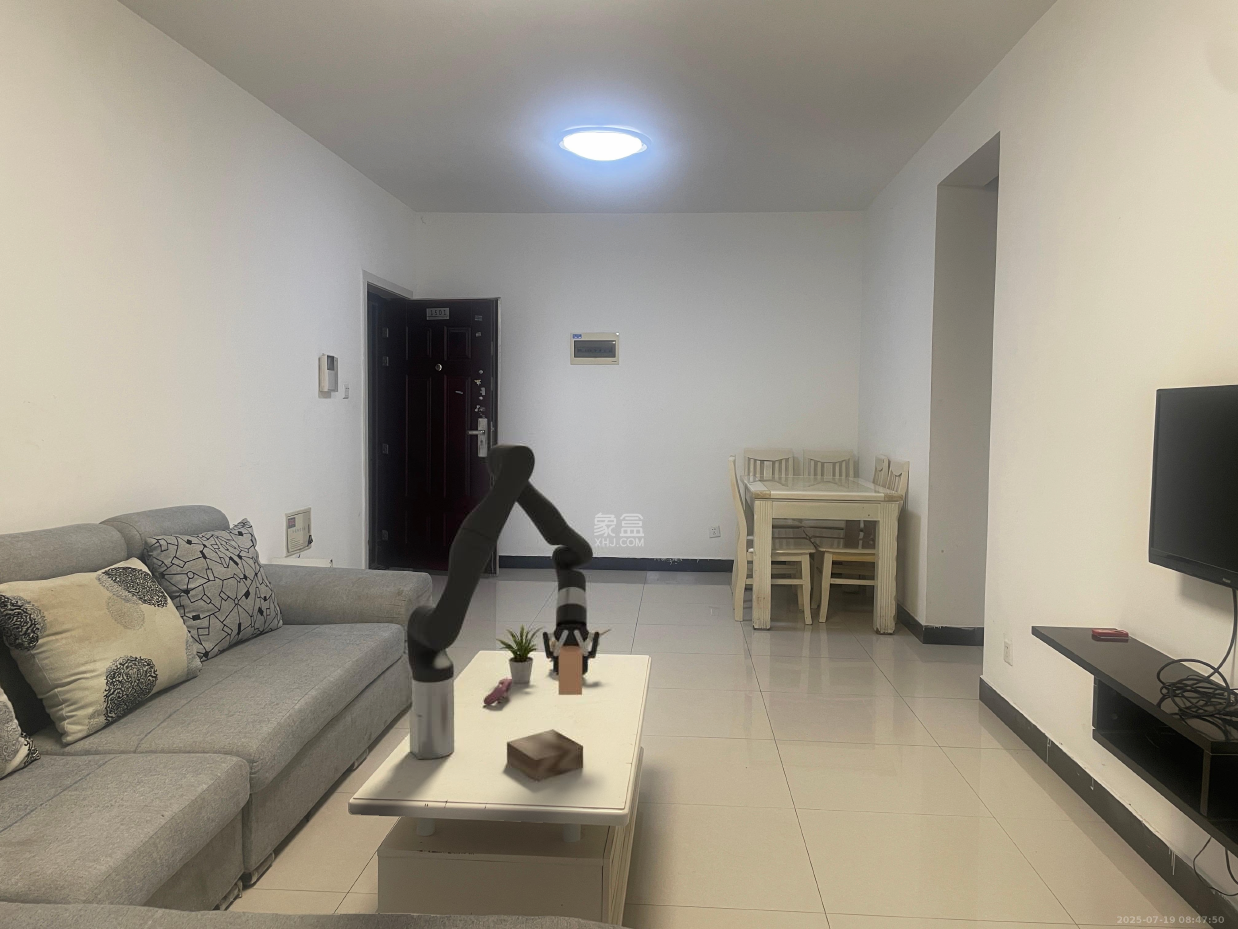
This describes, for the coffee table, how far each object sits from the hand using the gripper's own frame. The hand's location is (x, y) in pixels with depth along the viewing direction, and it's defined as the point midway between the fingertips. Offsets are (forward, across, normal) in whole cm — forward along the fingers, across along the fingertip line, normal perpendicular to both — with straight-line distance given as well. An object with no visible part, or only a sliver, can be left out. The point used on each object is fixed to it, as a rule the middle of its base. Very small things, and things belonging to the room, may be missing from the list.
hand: (570, 673), depth 183 cm
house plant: (-22, -14, +47) cm, 54 cm away
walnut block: (+20, -5, +5) cm, 21 cm away
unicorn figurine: (-28, +2, +52) cm, 59 cm away
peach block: (+2, 0, +5) cm, 5 cm away
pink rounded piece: (-10, -20, +34) cm, 41 cm away
